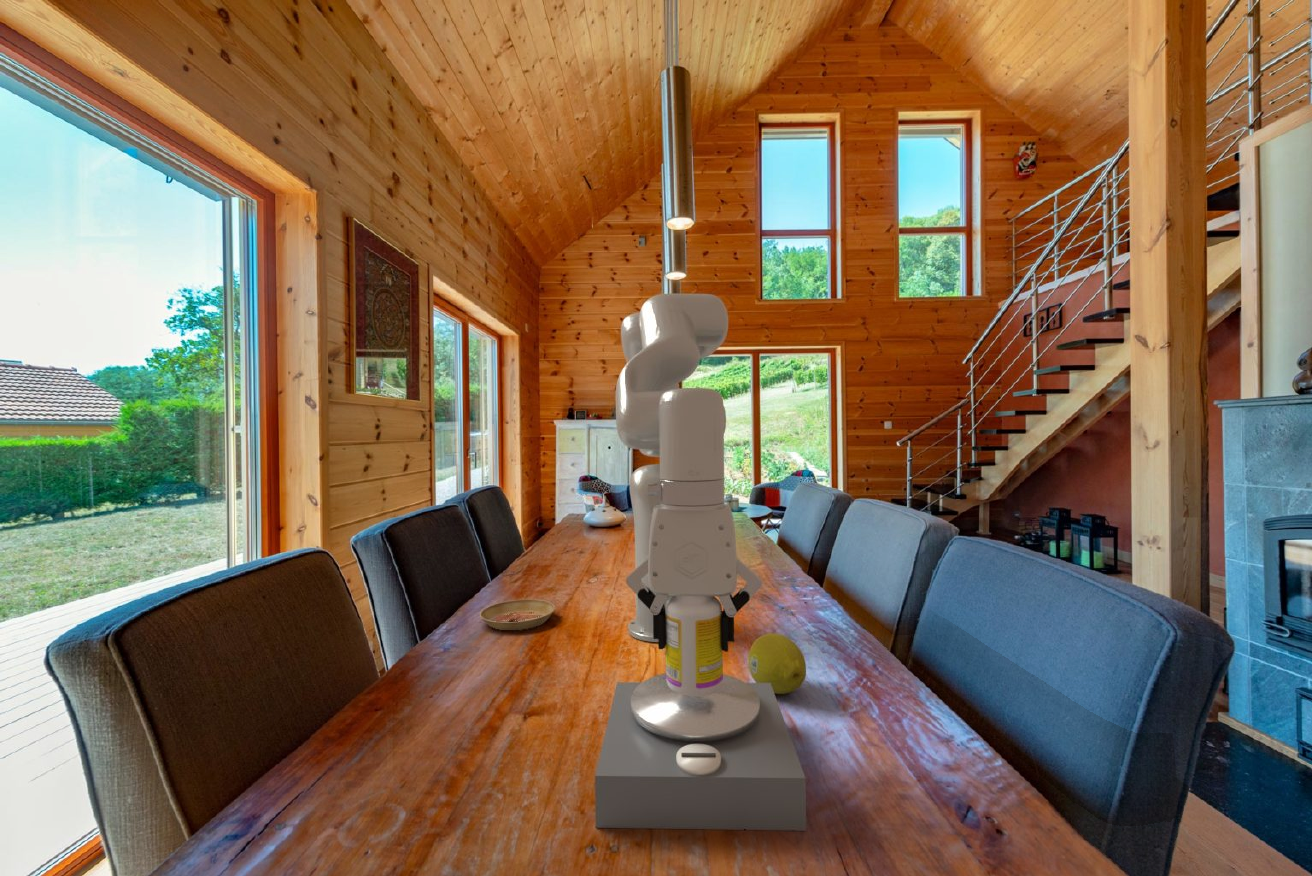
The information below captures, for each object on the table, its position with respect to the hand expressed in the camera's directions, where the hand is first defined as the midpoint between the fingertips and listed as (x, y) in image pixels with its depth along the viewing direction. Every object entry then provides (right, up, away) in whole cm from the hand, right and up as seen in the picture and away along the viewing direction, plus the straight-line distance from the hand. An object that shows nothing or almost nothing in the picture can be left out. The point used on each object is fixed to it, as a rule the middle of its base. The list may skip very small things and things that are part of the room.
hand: (693, 644), depth 66 cm
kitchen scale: (0, -13, -3) cm, 13 cm away
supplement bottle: (0, -5, 0) cm, 5 cm away
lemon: (+13, -13, +15) cm, 24 cm away
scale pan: (0, -7, 0) cm, 7 cm away
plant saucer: (-32, -13, +47) cm, 59 cm away
